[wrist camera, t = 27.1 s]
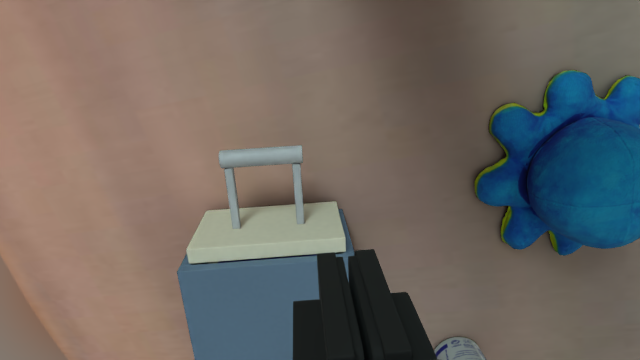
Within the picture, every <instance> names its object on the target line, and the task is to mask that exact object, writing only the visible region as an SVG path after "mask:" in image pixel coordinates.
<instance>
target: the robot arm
mask: <svg viewBox="0 0 640 360" xmlns="http://www.w3.org/2000/svg"><path fill="white" fill-rule="evenodd" d="M317 269H318V285H319V299H315V300H303V301H293V360H439V359H437V357H436V355H435V352H434V350H433V348H432V346H431V343H430V341H429V339H428V337H427V334H426V332H425V330H424V328H423V325H422V323H421V321H420V319H419V317H418V314H417V312H416V310H415V308H414V305H413V303H412V301H411V299H410V296H409V295H408V293H406V292H401V293H390V290H389V288H388V285H387V283H386V280H385V277H384V275H383V272H382V269H381V267H380V264H379V261H378V259H377V256H376V253H375V251H374V249H371V250H358V251H355V254H354V256H348V276H349V282H348V278H347V273H346V269H345V264H344V260H343V257H336V254H335V252H331V253H318V254H317Z"/></svg>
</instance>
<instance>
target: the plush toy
mask: <svg viewBox="0 0 640 360" xmlns="http://www.w3.org/2000/svg"><path fill="white" fill-rule="evenodd" d="M543 105H544V108H545V109H544V111H542V112H541V113H537V112H535V113H533V112H531V111H529V110H528V109H527V108H525V107H524V106H521V105H518V104H516V103H510V104H506V105H504V106H502V107H500V108H499V109H497V110H496V111H495V113H493V116H491V118H490V123H489V133H490V134H491V135H493V136H494V138H495V139H496V140H497V142H498V143H499V144H500V145H501V146H502V148H503V149H504V151H505V153H506V157H505V159H501V160H500V161H499V162H498V163H496V164H494V165H493V166H491V167H488V168H485V169H484V171H482V172H481V173H480V174H479V175H478V177H476V180H475V183H474V184H475V193H476V196H477V198H478V199H479V200H480V201H482V202H484V203H485V204H488V205H491V206H509V207H508V209H507V211H508V212H506V213H505V215H506V216H505V217H504V218H503V220H502V227H501V237H502V240H503V242H505V243H507V244H509V245H510V246H511V247H512V248H514V249H524V248H526V247H528V246H530V245H531V244H532V243H534V242H535V241H536V240H537V239H538V238H539V237H540V236H541V235H542V234H543V233H545V232H546V231H549V232H548V233H549V234H550V239H551V241H552V245H553V248H554V250H555V251H556V252H558V253H559V255H568V254H571V253H573V252H574V251H576V250H577V249H579V248H580V247H581V246H582V245H585V246H589V247H594V248H601V249H606V248H615V247H621V246H624V245H627V244H629V243H632V242H633V241H635V240H637V239H638V238H640V128H639V125H640V79H639V78H636V77H633V76H626V75H625V77H622V78H621V79H619V80H617V82H615V83H614V84H613V85H612V87H611V89H609V91H608V94H607V95H606V97H605V98H603V99H601V98H599V97H598V96H597V95H596V94H595V93H594V90H593V86H592V81H591V78H590V77H589V76H588V75H587V74H586V73H583V72H579V71H577V70H570V71H569V70H567V71H562V72H560V73H558V74H557V75H555V76H554V77H553V78H552V80H551V81H549V84H548V86H547V88H546V91H545V94H544V104H543Z"/></svg>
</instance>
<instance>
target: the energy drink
mask: <svg viewBox="0 0 640 360" xmlns="http://www.w3.org/2000/svg"><path fill="white" fill-rule="evenodd" d="M434 352H435V355H436V357H437V359H439V360H486V358H485V357H484V355H483V353H482V352H481V350H480V348H479V347H478V345H477V344H476V343H475V342H474V341H472V340H471V339H468V338H464V337H453V338H449V339H447V340H445V341H443V342H441V343H440V344H439V345H438V346H437V347H436V349H435V350H434Z"/></svg>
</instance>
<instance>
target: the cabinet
mask: <svg viewBox="0 0 640 360" xmlns="http://www.w3.org/2000/svg"><path fill="white" fill-rule="evenodd" d="M338 210H339V214H340V218H341V222H342V226H343V230H344V234H345V238H346V252H337V253H335V254H336V257H343V260H344V264H345V269H346V273H347V278H348V282H349V276H348V256H354V254H355V253H354V249H353V246H352V242H351V239H350V235H349V232H348V228H347V224H346V221H345V217H344V214H343V210H342V209H338ZM177 274H178V279H179V284H180V289H181V294H182V299H183V304H184V308H185V313H186V318H187V323H188V328H189V333H190V338H191V343H192V347H193V352H194V357H195V360H293V301H303V300H315V299H319V285H318V269H317V255H316V256H303V257H290V258H277V259H264V260H251V261H238V262H225V263H212V264H208V262H207V263H194V264H189V262H188V256H187V254H186V256H185V258H184V260H183V262H182V264H181V266H180V267H179V269H178V271H177Z"/></svg>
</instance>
